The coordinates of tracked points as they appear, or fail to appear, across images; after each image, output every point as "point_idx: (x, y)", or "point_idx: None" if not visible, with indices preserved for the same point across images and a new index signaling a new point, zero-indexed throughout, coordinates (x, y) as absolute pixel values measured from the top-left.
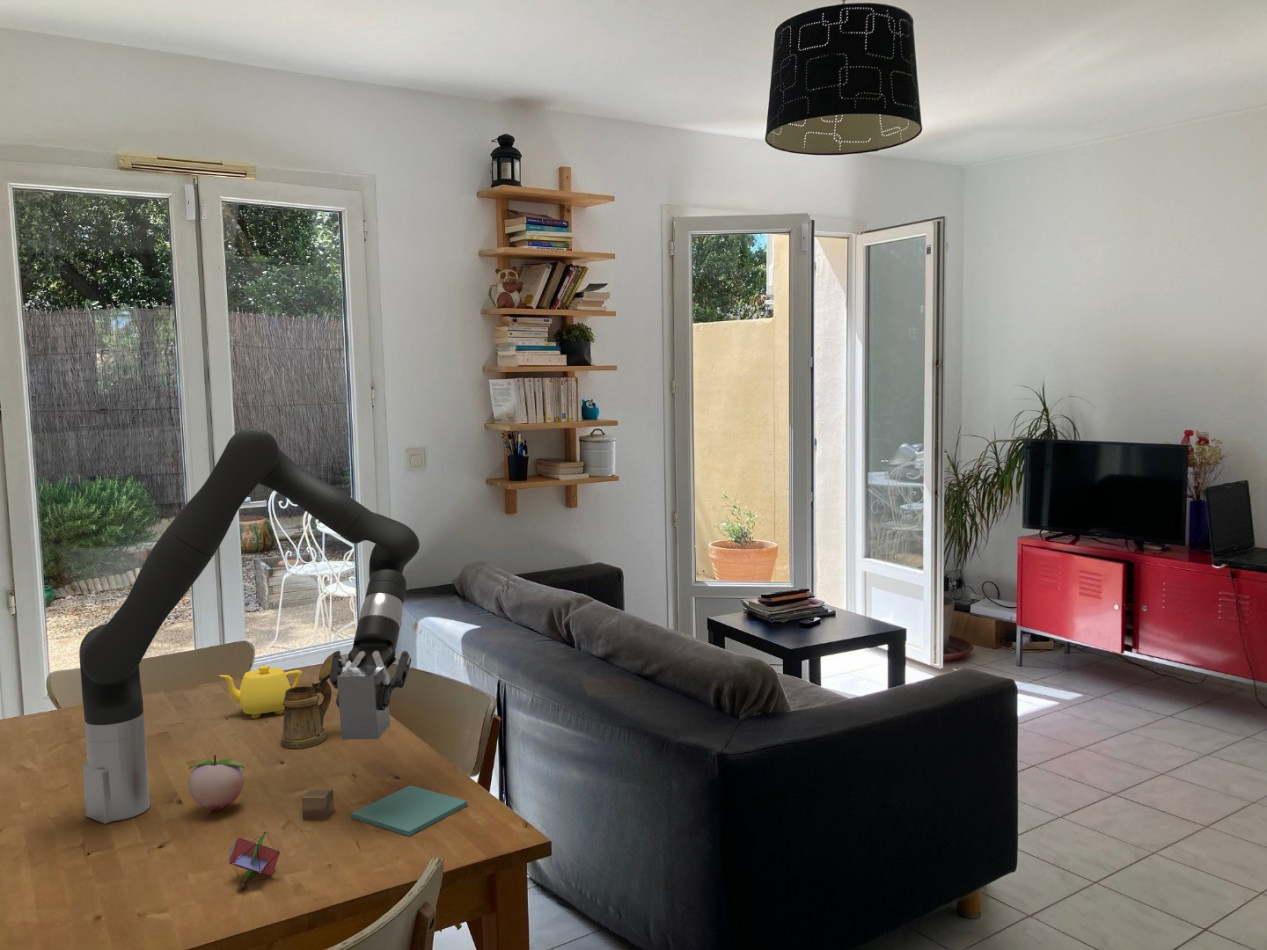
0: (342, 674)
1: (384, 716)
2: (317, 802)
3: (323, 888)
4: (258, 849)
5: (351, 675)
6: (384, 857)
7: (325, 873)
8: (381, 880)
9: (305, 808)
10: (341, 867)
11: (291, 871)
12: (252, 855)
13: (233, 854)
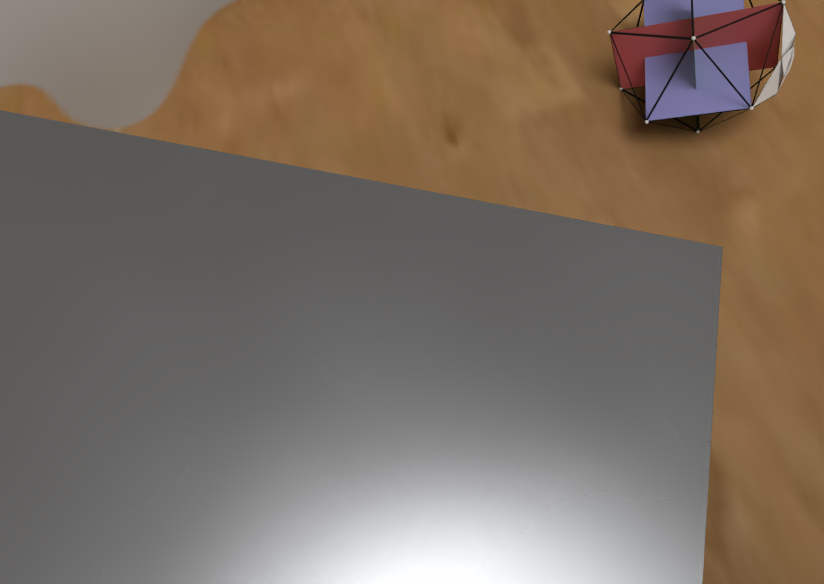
0: (629, 418)
1: None
2: None
3: (442, 8)
4: (689, 29)
5: (354, 258)
6: (275, 156)
7: (454, 87)
8: (277, 25)
9: None
10: (410, 115)
11: (567, 114)
12: (704, 44)
13: (773, 45)
